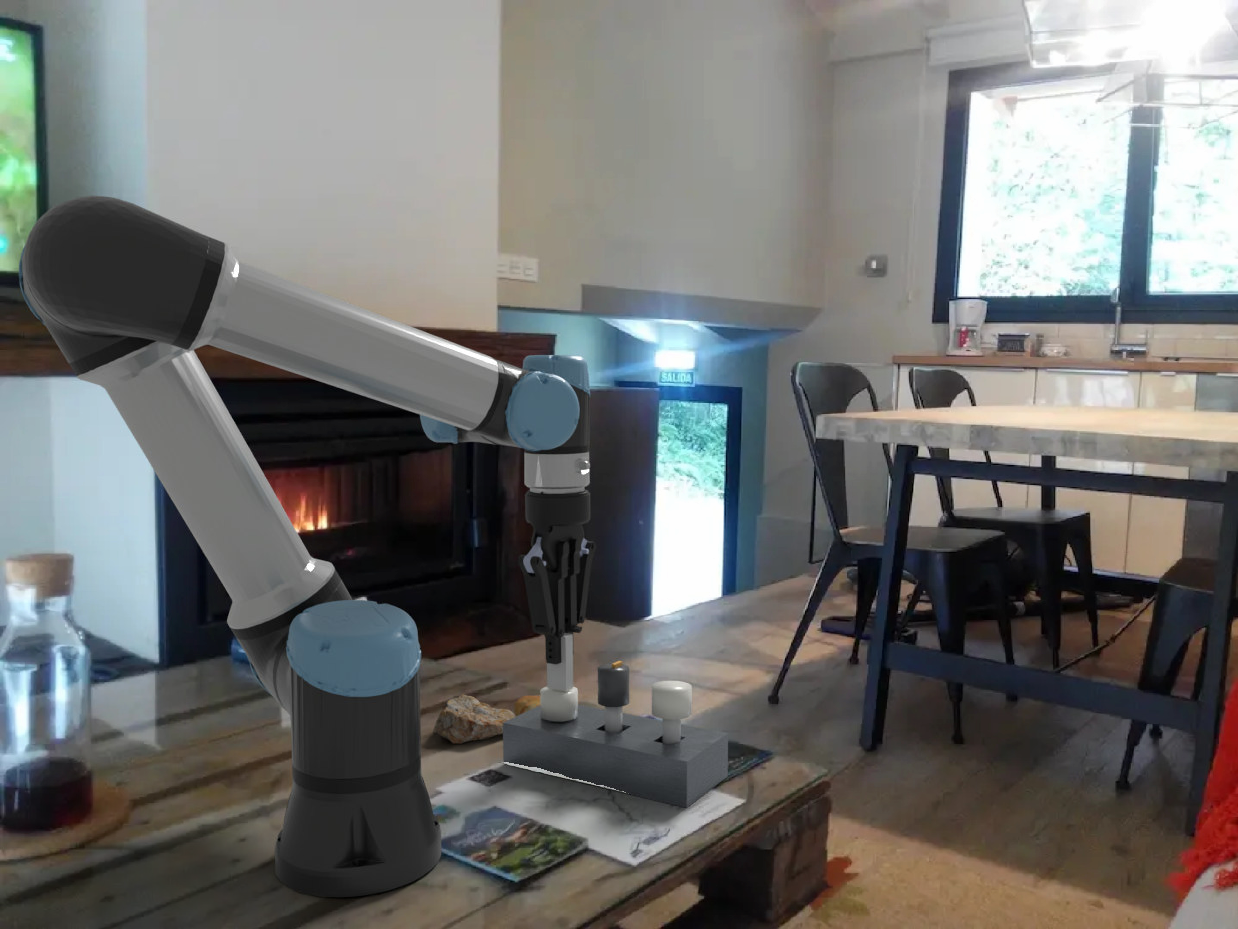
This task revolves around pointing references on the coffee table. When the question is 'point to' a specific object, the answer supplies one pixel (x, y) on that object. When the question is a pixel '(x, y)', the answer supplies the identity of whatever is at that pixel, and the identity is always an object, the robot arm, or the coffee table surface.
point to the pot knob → (613, 693)
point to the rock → (470, 720)
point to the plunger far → (558, 704)
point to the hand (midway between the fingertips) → (560, 688)
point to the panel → (620, 754)
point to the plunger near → (671, 707)
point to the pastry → (526, 704)
